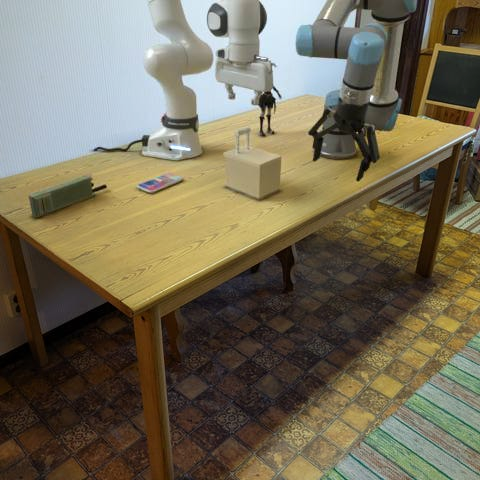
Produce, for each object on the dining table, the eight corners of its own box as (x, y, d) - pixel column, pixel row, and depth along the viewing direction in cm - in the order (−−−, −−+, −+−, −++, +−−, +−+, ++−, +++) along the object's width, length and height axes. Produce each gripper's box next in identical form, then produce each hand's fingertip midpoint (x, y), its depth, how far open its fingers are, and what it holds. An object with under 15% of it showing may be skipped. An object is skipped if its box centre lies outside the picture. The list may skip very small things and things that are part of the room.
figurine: (257, 139, 205) (260, 61, 191) (247, 135, 209) (249, 59, 194) (282, 131, 214) (286, 57, 199) (272, 128, 218) (275, 55, 203)
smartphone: (184, 177, 167) (150, 191, 157) (184, 180, 167) (151, 194, 157) (168, 171, 171) (134, 185, 161) (168, 174, 171) (135, 188, 161)
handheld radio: (30, 215, 144) (102, 188, 161) (37, 219, 142) (109, 191, 159) (26, 193, 140) (100, 168, 157) (33, 197, 138) (107, 171, 155)
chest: (225, 187, 163) (224, 156, 158) (246, 178, 169) (246, 149, 164) (258, 200, 154) (259, 168, 149) (279, 191, 161) (281, 160, 156)
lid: (223, 156, 158) (223, 130, 154) (245, 148, 165) (245, 123, 160) (259, 168, 149) (260, 141, 145) (281, 159, 156) (282, 133, 152)
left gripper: (279, 56, 140) (276, 106, 147) (226, 47, 152) (226, 94, 159) (264, 59, 136) (262, 110, 143) (211, 50, 148) (212, 97, 155)
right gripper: (303, 87, 127) (292, 157, 142) (394, 123, 117) (372, 194, 132) (318, 77, 132) (305, 145, 147) (407, 111, 122) (384, 180, 137)
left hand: (243, 102), depth 151 cm, fingers open, 8 cm apart
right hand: (337, 168), depth 140 cm, fingers open, 13 cm apart
